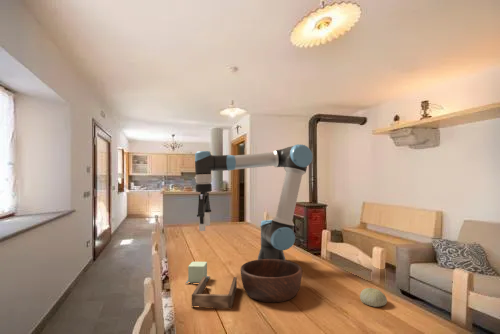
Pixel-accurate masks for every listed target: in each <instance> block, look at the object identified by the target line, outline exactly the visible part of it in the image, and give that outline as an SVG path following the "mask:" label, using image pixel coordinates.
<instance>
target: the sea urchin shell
mask: <svg viewBox="0 0 500 334" xmlns="http://www.w3.org/2000/svg"><path fill="white" fill-rule="evenodd" d="M359 298H360V301H361V302H362V303H363V304H364V305H366V306H367V305H368V306H370V307H377V308H381V307H383V306H385V305H386V304H387V303H388V299H387V296H386V295H385V294H384V293H383V292H382V291H381V290H379V289H377V288H372V287H366V288H364V289H362V290H361V291H360V294H359Z"/></svg>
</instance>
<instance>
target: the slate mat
mask: <svg viewBox="0 0 500 334" xmlns="http://www.w3.org/2000/svg"><path fill="white" fill-rule="evenodd" d="M209 277H210V278H211V276H210V275H209V276H208V275H207V278H206V282H207V283H208V281H209V280H210V278H209ZM208 279H209V280H208ZM186 283H188V279H187V280H186V282H185V284H186ZM190 283H200V282H190Z"/></svg>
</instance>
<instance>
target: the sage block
mask: <svg viewBox="0 0 500 334" xmlns="http://www.w3.org/2000/svg"><path fill="white" fill-rule="evenodd" d="M187 271H188V272H187V273H188V278H187V280H188V282H200V281H201V279H202V278H203V277H206V278H207V276H208V261H191V263H190V264H189V265H188V267H187Z"/></svg>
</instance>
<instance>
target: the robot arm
mask: <svg viewBox="0 0 500 334" xmlns="http://www.w3.org/2000/svg"><path fill="white" fill-rule="evenodd" d="M211 153H212V152H211V151H209V150H200V151H199V150H198V151H196V152H195V153H194V167H195V168H194V173H195V176H194V179H195V183H196V184H195V192H196V193H200V194H198V204H197V205H198V206H197V207H198V208H197V214H196V218H197V217H198V231H199V232H205V231H206V226H207V227H209V226H211V212H212V209H211V205H210V203H211V202H210V193H209V192H212V190H213V187H212V186H213V185H212V181H213V180H212V172H225V171H228V172H229V171H234V170H245V169H257V168H264V167H265V168H266V167H274V168H283V169H284V171H285V174H284V179H283V183H282V187H281V193H280V196H279V202H278V205H277V211H276V215H275V217H274V218H272V219H265V220H261V222H260V249H259V253H258V255H257V260H259V259H280V260H286V256H285V253H284V251H286V250H289V249H291V248H292V247H293V246H294V244H295V242H296V234H295V232H294V229H295V224H294V221H293V219H294V214H295V210H296V205H297V200H298V196H299V192H300V187H301V182H302V177H303V175H304V174H307V170H308V166H310V164H311V163H312V161H313V158H314V157H313V152H312V150H311V149H310V148H309V146H307V145H306V144H294V145H291V146H288V147H285V148H282V149H277V150H276V149H275V150H274V149H273V151H272V152H271V151H270V152H262V153H252V154H251V153H250V154H238V155H237V154H235V155H231V154H224V155H223V154H220V155H213V154H211Z"/></svg>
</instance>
